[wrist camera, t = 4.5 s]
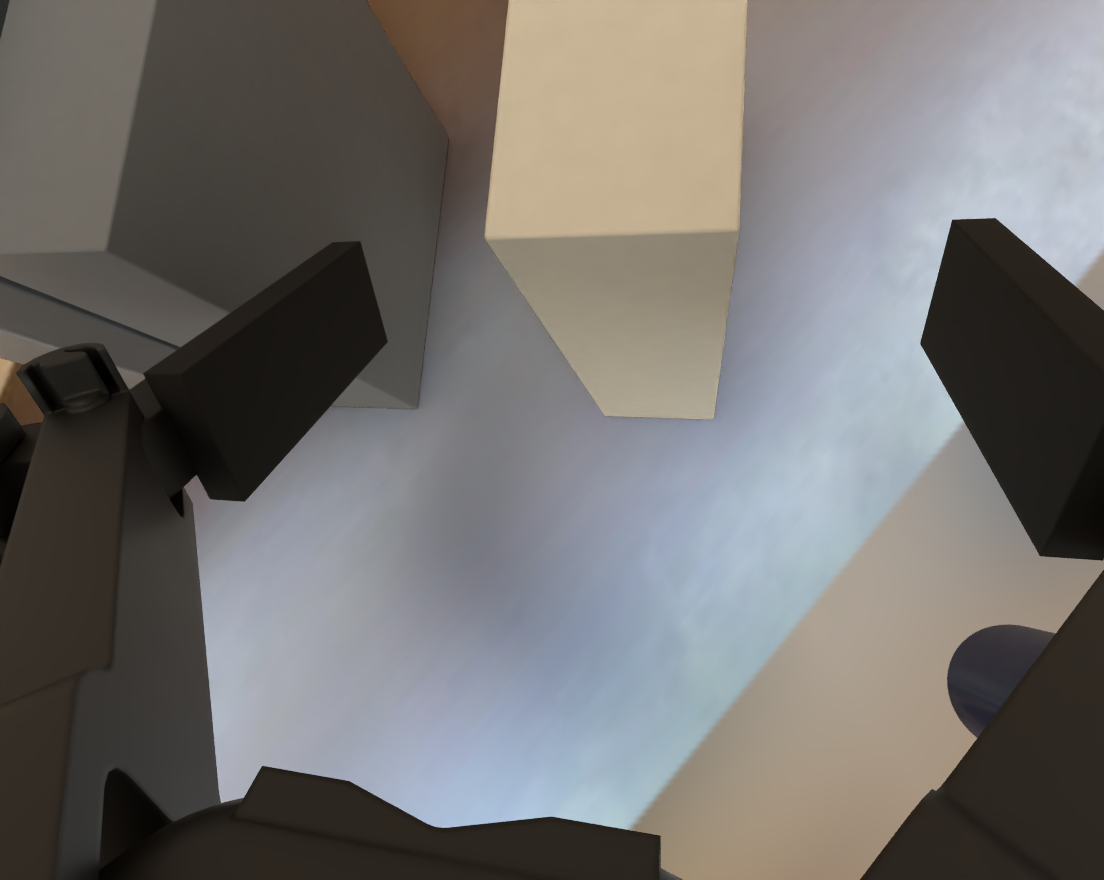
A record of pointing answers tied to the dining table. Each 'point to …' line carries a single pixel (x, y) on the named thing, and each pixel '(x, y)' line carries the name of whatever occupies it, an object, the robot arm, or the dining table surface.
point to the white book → (624, 189)
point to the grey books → (207, 173)
